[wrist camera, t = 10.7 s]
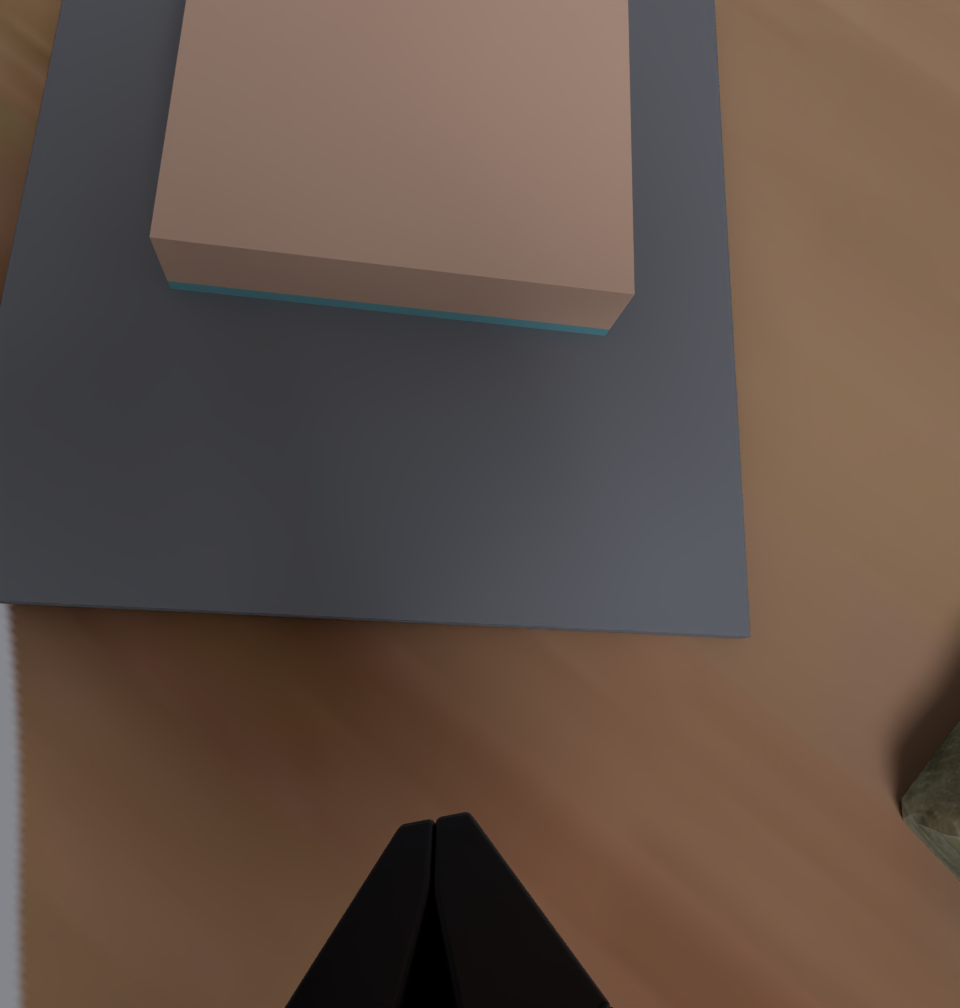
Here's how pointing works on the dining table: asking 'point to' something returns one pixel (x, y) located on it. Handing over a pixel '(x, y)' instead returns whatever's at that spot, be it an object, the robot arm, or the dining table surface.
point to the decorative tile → (938, 803)
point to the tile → (404, 158)
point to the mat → (364, 394)
